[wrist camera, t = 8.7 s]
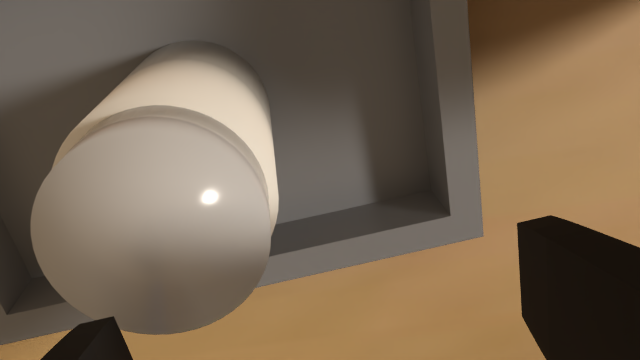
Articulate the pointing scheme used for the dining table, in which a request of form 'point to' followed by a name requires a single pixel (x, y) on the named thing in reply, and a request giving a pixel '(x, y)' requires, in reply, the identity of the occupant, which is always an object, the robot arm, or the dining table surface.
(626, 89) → the dining table surface
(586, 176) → the dining table surface
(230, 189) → the salt shaker
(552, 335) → the robot arm
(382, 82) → the tray
